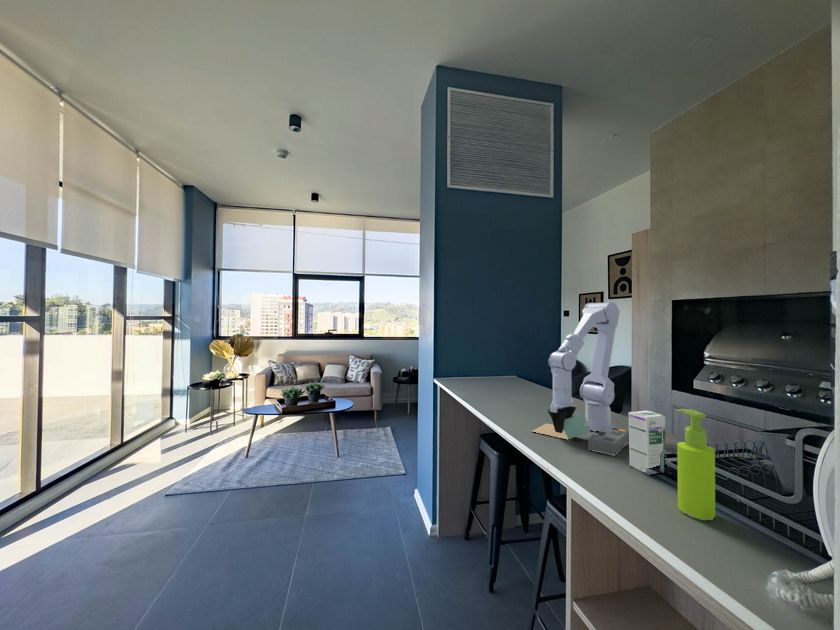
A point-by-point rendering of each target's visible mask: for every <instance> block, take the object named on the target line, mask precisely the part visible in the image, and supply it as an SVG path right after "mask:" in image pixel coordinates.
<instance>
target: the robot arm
mask: <svg viewBox="0 0 840 630" xmlns="http://www.w3.org/2000/svg"><path fill="white" fill-rule="evenodd" d="M620 312H621V311H620V309H619V307H618V306H617V304H616V303H615V302H613V301H609V302H588V303H586V304H585V305H584V308H583V309H582V317H581V319H580V321H579V322H578V324H577V326H576V327H575V330H574V332H573V333H570V334H567V335H566V336H565V339H564V340H563V341H562V343H561V345H560V347H558V349H557V350H556V351H554V352H552V353H551V354H550V355H549V358H548V360H547V361H548V365H549V367H550V372H551V374H552V401H551V404H550V406H549V409H548V410H547V411H548V414H549V416H550V418H551V421H552V425H554V429H555V432H558V433H562V432H563V428H564V421H565V419H568V418H570V417H573V415H574V413H575V411H576V410H577V409H576V408H577V407H576V402H575V403H574V398H573V397H572V393H573V392H572V388H573V387H572V370H573V369H574V368H575V367H576V364H577V358H578V354H579V352H580V351H581V349H582V348H583V347H584V345H585V341H584V338H585V337H586V335H588V333H589V332H590V330H592V328H593V327H594V328H596V330H597V336H596V343H595V346H594V347H595V348H594V354H593V360H592V365H591V371H590V373H589V374H588V375H586V376H585V377H584V378H583V381H582V384H581V385H580V388H579V394H580V397H581V398H582V400H583V402H585V406H584V407H585V419H586V421H587V422H588V421H591V420H593V422H594V423H591V424H590V425H589V426H590V428H591V430H592V432H596V431H599V430H600V429H601V428H608V429H614V428H615V426H614V425H612V424H611V422H612V421H611V419H612V418H611V417H612V414H611V413H612V412H611V411H612V410H611V406H610V405H611V404H612V403H613V402H614V399H615V383H614V382H613V381H612V380H611V379H610V377H608V375H609V372H610V371H609V370H610V365H611V359H612V353H613V347H614V341H615V336H616V335H615V334H616V329H617V327H618V323H619V318H620ZM613 427H614V428H613ZM591 430H590V431H591Z"/></svg>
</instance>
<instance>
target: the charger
mask: <svg viewBox="0 0 840 630" xmlns="http://www.w3.org/2000/svg"><path fill="white" fill-rule="evenodd" d="M591 423H594V422H593V420H591V421H588V422H587V421H586V416H585V415H584V414H583V412H581V413H579V414H576V415H574V416H572V417H570V418H568V419H565V421H564V428H563V430H564V431H565V433H566V435H567V437H568V439H569V440H571V439H573V438H577V437H579V436H582V435H585V434H587V433H589V432H590V431H591V428H590V426H589V425H590V424H591Z"/></svg>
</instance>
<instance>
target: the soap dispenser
mask: <svg viewBox="0 0 840 630" xmlns="http://www.w3.org/2000/svg"><path fill="white" fill-rule="evenodd" d="M676 411H677V412H679V413H684V414H686V415H689V416H690V417H689V423H690V425H688V426H685V427H684V441H680V442H678V443H677V448H676V449H677V509H678V508H679V509H680V510H681V511H683V512H685V513H687V514H690V515H692V516H694V517H697V518H702V519H711V518H714V517H715V518H716V449H714V448H713V447H711V446H709V445H707V439H708V438H707V435H708V434H707V430H706V429H704V427H702V418H703V419H704V418H705V419H706V418H707V416H706V415H707V414H705V413H703V412H701V411H698V410H695V409H691V408H689V409H688V408H678V409H677V408H676Z"/></svg>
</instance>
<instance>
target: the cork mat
mask: <svg viewBox="0 0 840 630" xmlns="http://www.w3.org/2000/svg"><path fill="white" fill-rule="evenodd" d="M531 431H532V432H536V433H535V434H537V433H540V434H539V435H541V434H545V435H550V436H554V437H558V438H563V439H568V437H567V435H566V433H565V431H564V430H563V432H562V433H558V432H555V429H554V424H553V423H552V424H551V423H548V422H547V423H544V424H543V425H540V426H538V427H537V428H534V429H532V430H531ZM532 432H531V433H532ZM545 435H544V436H545ZM554 437H553V438H554ZM558 438H557V439H558Z"/></svg>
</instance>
